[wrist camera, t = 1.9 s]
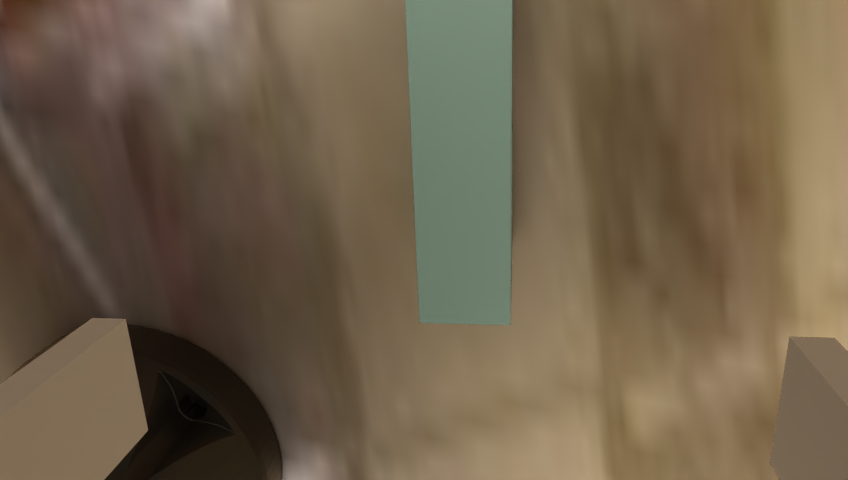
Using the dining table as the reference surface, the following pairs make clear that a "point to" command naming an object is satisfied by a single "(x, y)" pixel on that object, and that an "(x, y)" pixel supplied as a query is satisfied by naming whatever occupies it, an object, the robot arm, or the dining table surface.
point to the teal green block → (462, 157)
